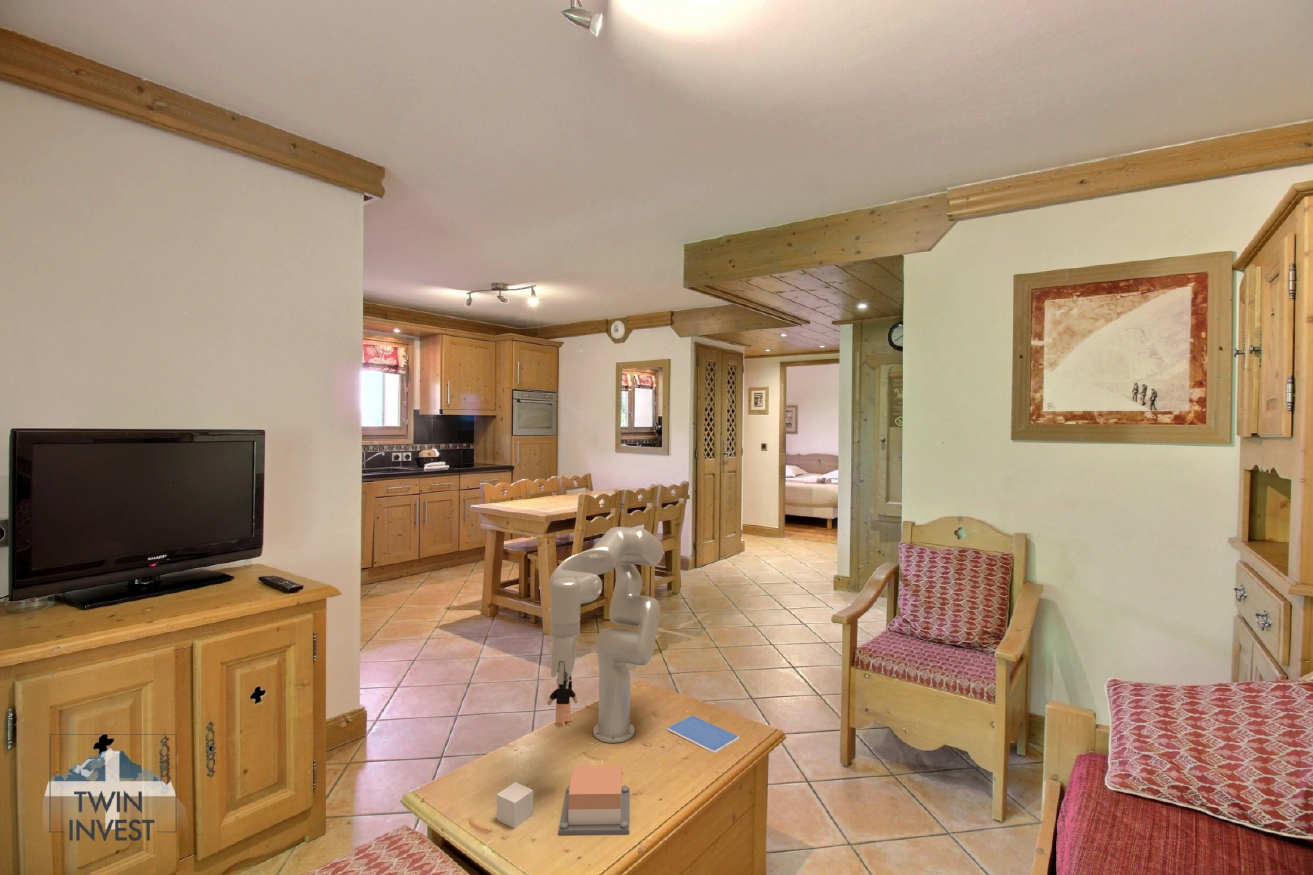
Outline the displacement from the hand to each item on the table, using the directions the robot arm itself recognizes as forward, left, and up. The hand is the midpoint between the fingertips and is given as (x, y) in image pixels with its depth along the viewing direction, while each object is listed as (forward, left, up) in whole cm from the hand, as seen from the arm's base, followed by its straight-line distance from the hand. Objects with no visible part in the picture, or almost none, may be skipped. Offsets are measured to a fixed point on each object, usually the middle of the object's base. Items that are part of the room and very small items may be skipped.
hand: (564, 699), depth 151 cm
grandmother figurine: (0, -1, -6) cm, 6 cm away
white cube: (+10, -10, -24) cm, 28 cm away
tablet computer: (-28, +39, -24) cm, 54 cm away
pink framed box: (+9, +9, -23) cm, 26 cm away
